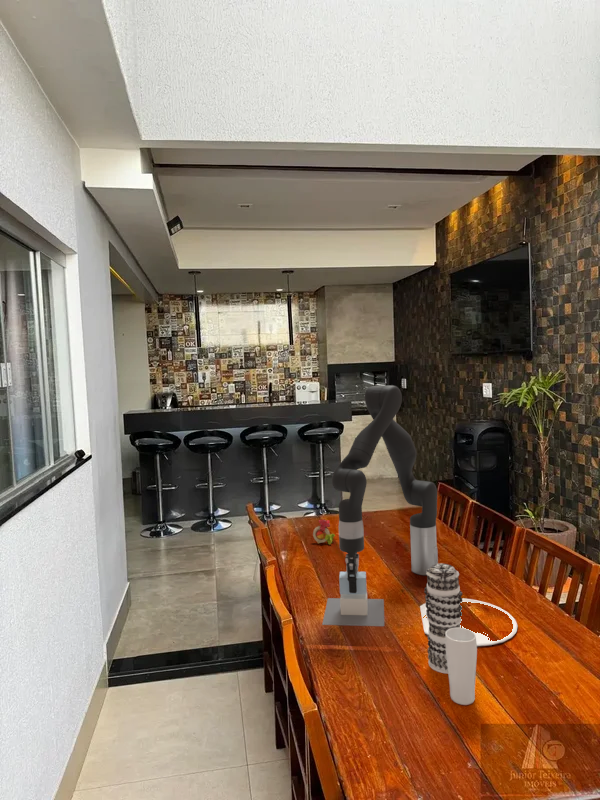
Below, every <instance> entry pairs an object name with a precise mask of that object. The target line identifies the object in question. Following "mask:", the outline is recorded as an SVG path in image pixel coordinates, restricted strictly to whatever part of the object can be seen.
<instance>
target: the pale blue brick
mask: <svg viewBox="0 0 600 800" xmlns="http://www.w3.org/2000/svg"><path fill="white" fill-rule="evenodd" d="M356 576H357V581H356V585H357V592H356V593H350V592H349V581H348V580H347V578H348V574H347V571H339V576H338V577H339V578H338V579H339V580H338V581H339V584H338V585H339V594H340V595H341V594H367V595H368V592H367V571H358V572H357V573H356ZM350 577H354V575H350Z"/></svg>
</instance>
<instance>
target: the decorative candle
mask: <svg viewBox="0 0 600 800" xmlns="http://www.w3.org/2000/svg"><path fill="white" fill-rule="evenodd" d="M426 574H427V575H426V576H427V583H426V587H424V588H423V589H424V594H425V596H424V598H425V600H424V601H425V603H426V605H425V606H426V608H427V610H426V612H427V613H426V615H427V620H428V621H429V629H428V632H429V634H428V635H427V640H428V641H427V646H428V648H427V654H428V655H427V659H428V662H427V663H428V666H429V667H430V668H431V669H432V670H433V671H435V672H437V673H442V674H448V668H447V659H446V650H445V633H446V631H447V630H448V629H450V628H456V627H460V623H461V621H462V619H461V617H460V616H462V612H461V610H462V606H461V605H460V603H461V602H462V596H463V592H462V591H461V589H460V584H459V580H460V579H459V576H460V573H459V571H458V570H456V569H455V567H454V566H453V565H451V564H448V563H438V564H434V565H432V566H431V567H430V569H428V570H427V571H426ZM428 605H429V607H428Z"/></svg>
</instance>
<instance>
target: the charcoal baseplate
mask: <svg viewBox="0 0 600 800" xmlns="http://www.w3.org/2000/svg"><path fill="white" fill-rule="evenodd" d="M367 603H368V613H367V615H341V607H340V598H339V597H338V598H336V597H331V598H330V597H327V601H326V604H325V605H326V606H325V610H324V614H323V620H322V626H350V627H351V626H358V627H360V626H361V627H385V599H384V598H367Z"/></svg>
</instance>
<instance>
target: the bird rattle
mask: <svg viewBox="0 0 600 800" xmlns="http://www.w3.org/2000/svg"><path fill="white" fill-rule="evenodd" d="M318 523H319V525H317V526H316V527H315V528H314V529H313V533H312V536H313V539H314V541H316V542H317V544H318V545H319V544H321V543H326V542H327V544H328V545H331V544H332V543H333V540H334V537H335V536H336V535H335V534H334V533H330V530H329V529H328V528H330V527H331V524H330V519H329V520H328V519H327V520H326V519H319V520H318Z"/></svg>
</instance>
